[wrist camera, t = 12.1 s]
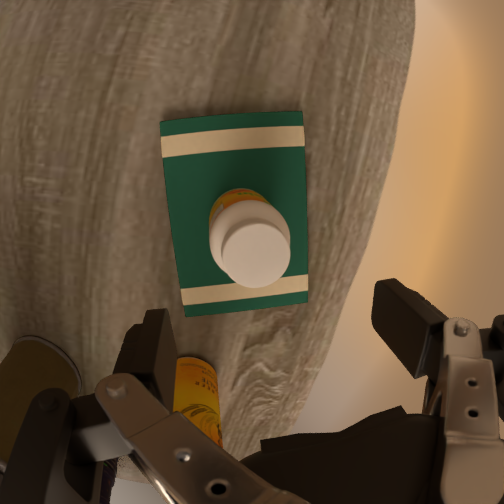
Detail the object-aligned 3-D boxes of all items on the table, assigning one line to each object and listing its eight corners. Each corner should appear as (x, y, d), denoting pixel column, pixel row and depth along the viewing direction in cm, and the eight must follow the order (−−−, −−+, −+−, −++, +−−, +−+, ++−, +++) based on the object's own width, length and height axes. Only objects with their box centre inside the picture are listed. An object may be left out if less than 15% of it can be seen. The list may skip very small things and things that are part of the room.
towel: (160, 122, 25) (159, 121, 24) (299, 112, 26) (302, 111, 25) (185, 312, 31) (185, 317, 30) (305, 297, 32) (308, 302, 31)
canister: (48, 325, 29) (-35, 462, 10) (97, 392, 33) (59, 532, 14) (-3, 346, 29) (-75, 454, 10) (42, 405, 33) (-2, 518, 14)
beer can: (223, 386, 34) (236, 497, 20) (174, 396, 34) (169, 505, 20) (207, 347, 32) (212, 466, 18) (154, 359, 32) (136, 474, 18)
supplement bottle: (281, 203, 27) (318, 233, 18) (255, 257, 29) (277, 310, 20) (224, 177, 26) (233, 194, 17) (199, 234, 27) (195, 280, 18)
